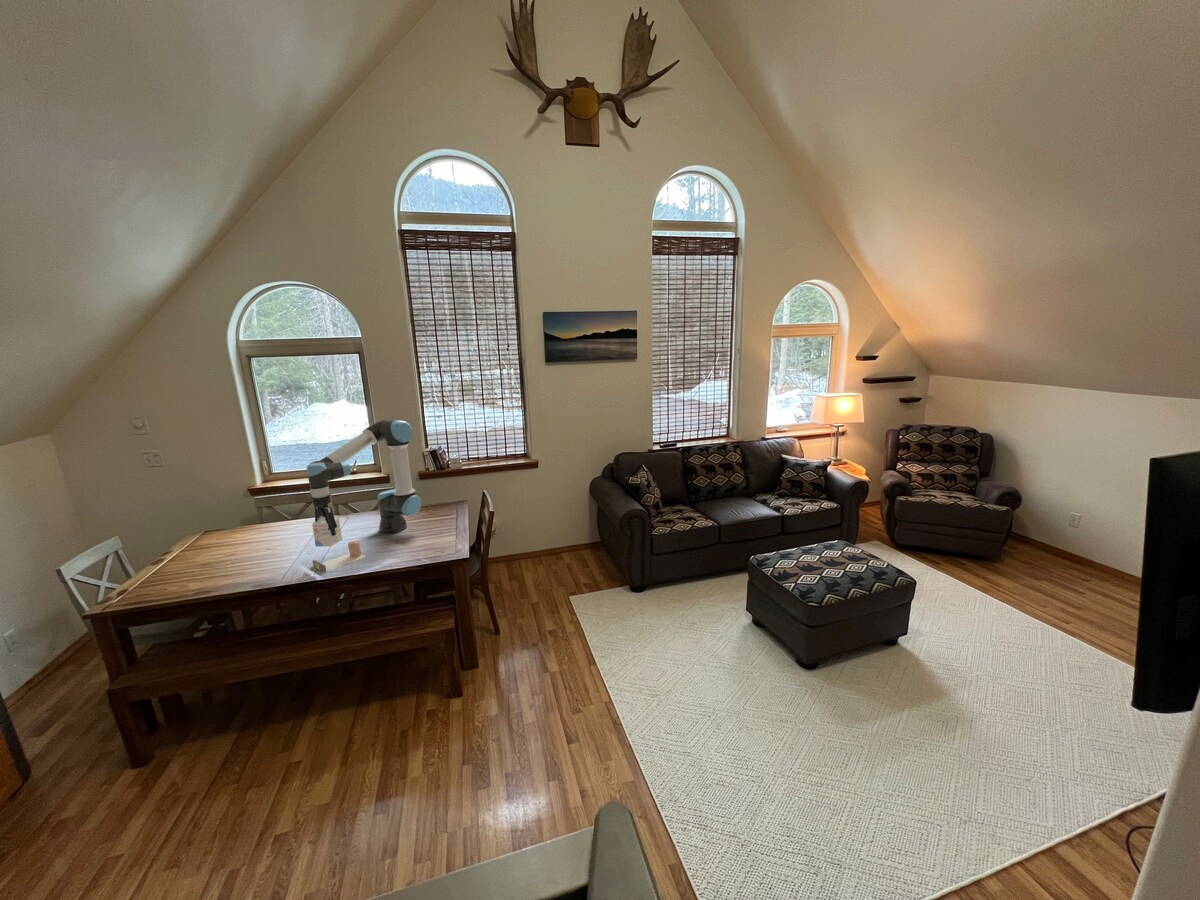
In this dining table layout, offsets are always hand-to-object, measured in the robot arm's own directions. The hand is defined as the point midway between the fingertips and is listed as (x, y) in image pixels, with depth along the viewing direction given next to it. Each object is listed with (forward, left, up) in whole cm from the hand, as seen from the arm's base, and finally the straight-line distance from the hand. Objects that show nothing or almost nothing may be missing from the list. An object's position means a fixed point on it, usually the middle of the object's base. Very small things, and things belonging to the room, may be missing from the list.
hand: (328, 538), depth 229 cm
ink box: (0, 0, -2) cm, 2 cm away
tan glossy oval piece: (-11, +1, -13) cm, 17 cm away
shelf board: (-3, +1, -14) cm, 15 cm away
